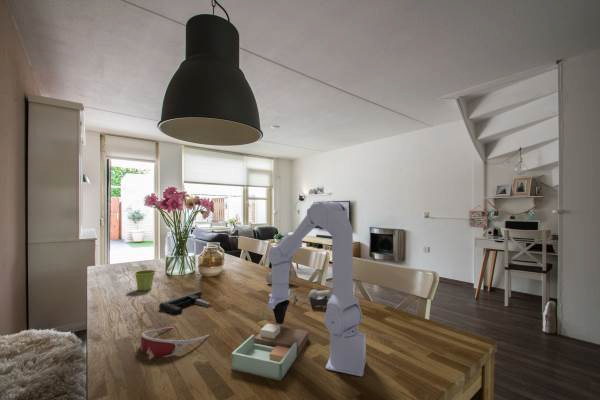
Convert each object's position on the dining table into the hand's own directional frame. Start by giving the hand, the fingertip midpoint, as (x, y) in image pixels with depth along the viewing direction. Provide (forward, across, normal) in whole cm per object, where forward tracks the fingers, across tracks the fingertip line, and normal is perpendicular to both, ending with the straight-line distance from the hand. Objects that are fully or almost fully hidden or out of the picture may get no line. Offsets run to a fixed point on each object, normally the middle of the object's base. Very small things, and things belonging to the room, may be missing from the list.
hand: (279, 323), depth 90 cm
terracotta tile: (+2, +15, +7) cm, 17 cm away
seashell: (+3, -53, -22) cm, 58 cm away
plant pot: (+3, -20, -84) cm, 86 cm away
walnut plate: (+3, +6, +4) cm, 8 cm away
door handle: (+4, -9, -46) cm, 47 cm away
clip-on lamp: (+3, -30, +2) cm, 30 cm away
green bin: (+3, +18, +4) cm, 18 cm away
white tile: (0, +7, 0) cm, 7 cm away
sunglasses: (+4, +18, -28) cm, 34 cm away
